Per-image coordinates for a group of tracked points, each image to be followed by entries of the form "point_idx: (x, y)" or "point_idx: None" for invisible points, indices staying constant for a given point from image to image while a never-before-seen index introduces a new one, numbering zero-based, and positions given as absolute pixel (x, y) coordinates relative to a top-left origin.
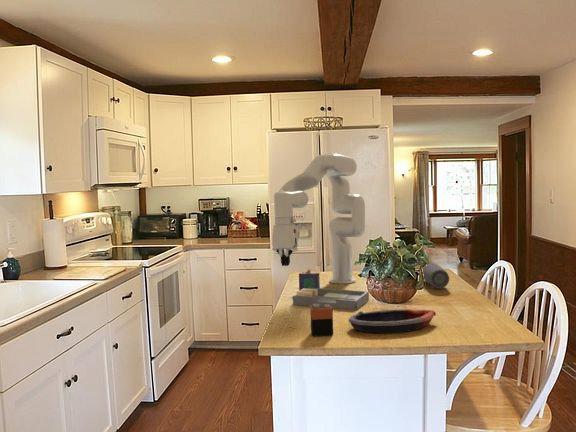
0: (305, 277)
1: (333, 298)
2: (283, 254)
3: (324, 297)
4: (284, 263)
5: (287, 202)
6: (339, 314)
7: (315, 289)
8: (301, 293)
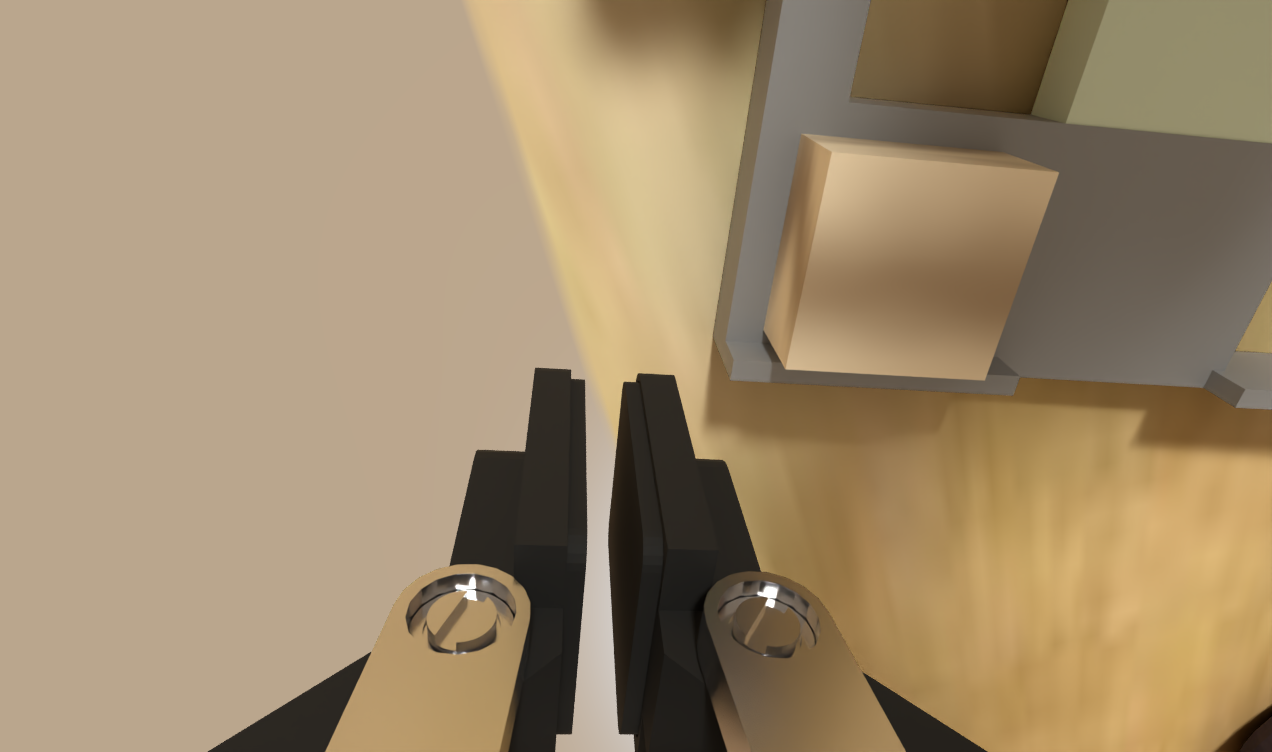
0: None
1: (1201, 206)
2: (543, 740)
3: (1092, 181)
4: (611, 579)
5: None
6: (1176, 525)
7: (1029, 182)
8: (846, 366)
